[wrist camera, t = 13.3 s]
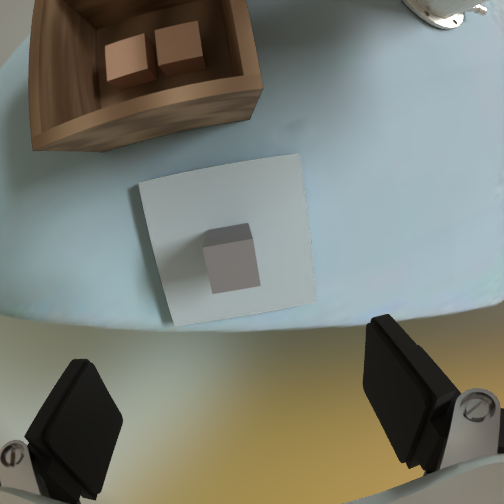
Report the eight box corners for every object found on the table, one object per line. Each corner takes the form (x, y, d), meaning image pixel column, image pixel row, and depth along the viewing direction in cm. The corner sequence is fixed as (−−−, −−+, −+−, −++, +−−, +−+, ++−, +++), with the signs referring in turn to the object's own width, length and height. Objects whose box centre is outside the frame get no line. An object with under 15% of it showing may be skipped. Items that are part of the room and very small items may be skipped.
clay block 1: (154, 47, 24) (144, 33, 20) (157, 79, 25) (147, 68, 22) (118, 57, 24) (105, 46, 20) (121, 90, 25) (107, 81, 22)
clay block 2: (201, 36, 24) (197, 20, 21) (206, 68, 26) (202, 55, 22) (163, 44, 24) (154, 30, 20) (167, 77, 25) (158, 65, 22)
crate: (227, -6, 24) (227, -77, 11) (249, 119, 28) (263, 88, 16) (92, 29, 23) (38, -17, 11) (102, 152, 28) (32, 150, 16)
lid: (294, 153, 30) (318, 150, 22) (311, 294, 35) (334, 332, 26) (144, 181, 30) (114, 188, 21) (177, 317, 34) (164, 360, 26)
